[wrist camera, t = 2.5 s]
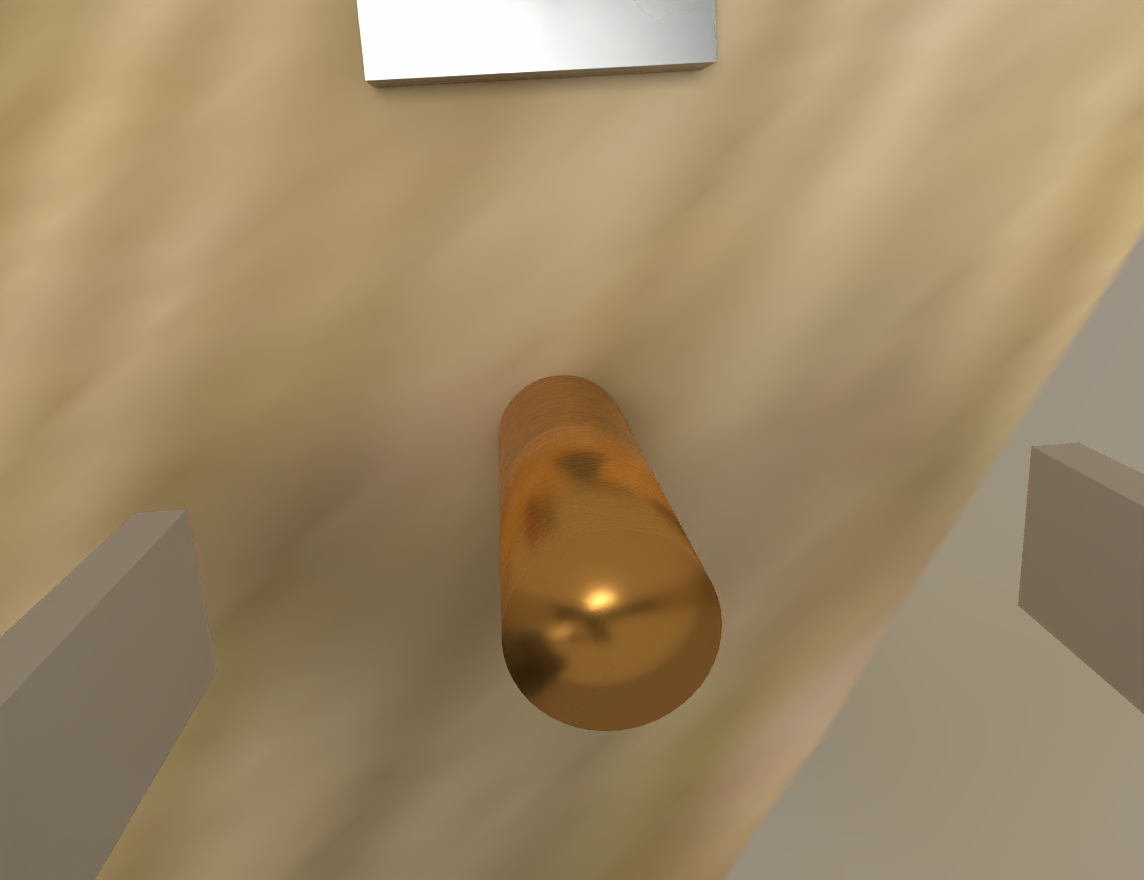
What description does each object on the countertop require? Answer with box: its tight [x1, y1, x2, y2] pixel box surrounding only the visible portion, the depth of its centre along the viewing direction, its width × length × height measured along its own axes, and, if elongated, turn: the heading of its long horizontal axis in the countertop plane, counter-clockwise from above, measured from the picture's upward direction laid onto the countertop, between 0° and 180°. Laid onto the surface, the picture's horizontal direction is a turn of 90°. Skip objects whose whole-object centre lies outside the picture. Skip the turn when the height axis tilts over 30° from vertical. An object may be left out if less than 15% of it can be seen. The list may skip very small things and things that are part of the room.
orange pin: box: [499, 376, 722, 731], centre depth 18 cm, size 3×3×10 cm
